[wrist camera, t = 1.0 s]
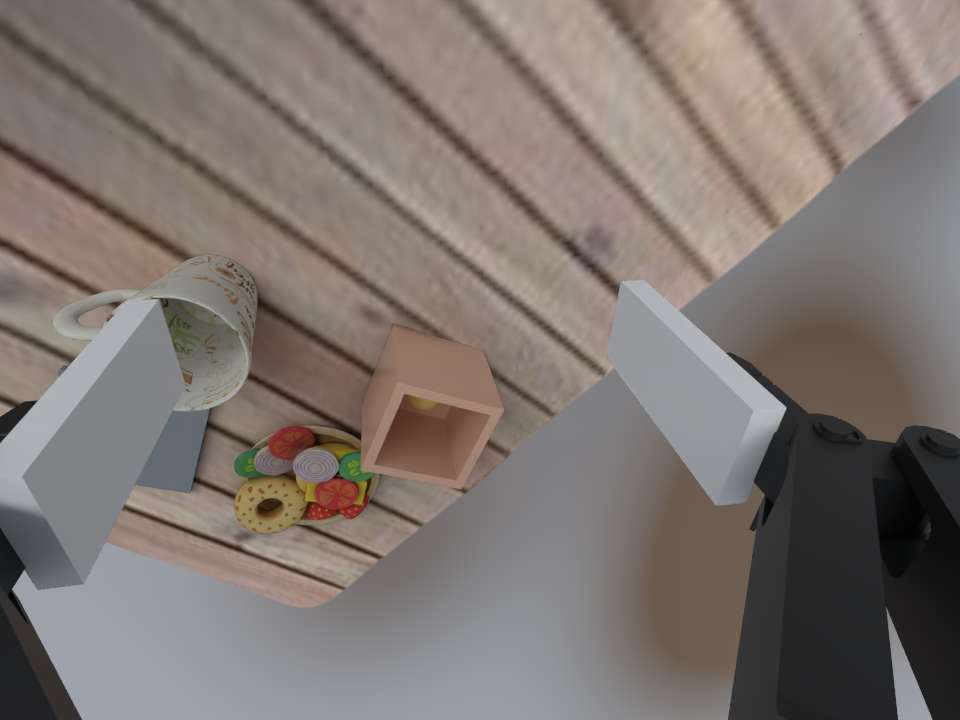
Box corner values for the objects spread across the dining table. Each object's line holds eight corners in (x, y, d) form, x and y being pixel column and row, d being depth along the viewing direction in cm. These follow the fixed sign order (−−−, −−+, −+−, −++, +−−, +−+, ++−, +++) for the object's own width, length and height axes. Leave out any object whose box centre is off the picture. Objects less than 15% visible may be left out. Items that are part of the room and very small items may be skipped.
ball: (400, 391, 47) (402, 412, 45) (412, 362, 46) (414, 382, 43) (433, 399, 48) (436, 420, 46) (445, 371, 47) (450, 391, 44)
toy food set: (234, 511, 53) (227, 537, 50) (241, 407, 47) (233, 430, 44) (368, 518, 57) (368, 543, 54) (390, 422, 50) (391, 444, 48)
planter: (362, 402, 48) (360, 470, 41) (392, 323, 45) (397, 382, 37) (447, 422, 51) (461, 489, 44) (483, 350, 48) (504, 409, 40)
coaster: (55, 466, 46) (51, 471, 46) (63, 365, 41) (59, 369, 41) (191, 488, 50) (189, 493, 49) (212, 398, 45) (211, 402, 45)
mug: (278, 338, 43) (256, 410, 35) (108, 337, 41) (41, 415, 33) (268, 241, 39) (240, 297, 31) (78, 233, 37) (-9, 291, 28)
